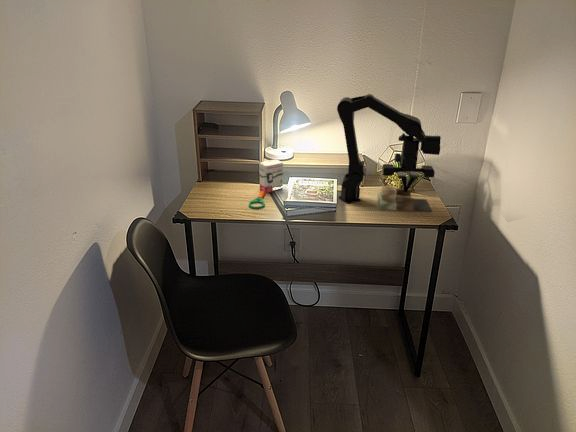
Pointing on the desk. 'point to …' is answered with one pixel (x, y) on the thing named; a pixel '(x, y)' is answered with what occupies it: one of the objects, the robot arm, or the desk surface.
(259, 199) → the magnifying glass
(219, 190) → the desk surface
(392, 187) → the maple block
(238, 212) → the desk surface
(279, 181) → the ink box
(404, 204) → the tunnel course
